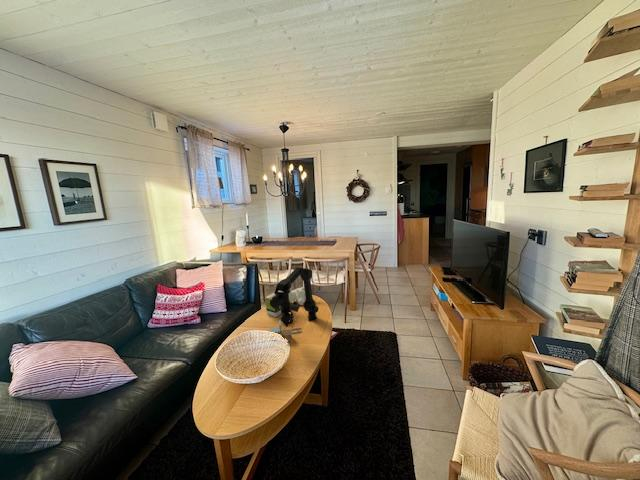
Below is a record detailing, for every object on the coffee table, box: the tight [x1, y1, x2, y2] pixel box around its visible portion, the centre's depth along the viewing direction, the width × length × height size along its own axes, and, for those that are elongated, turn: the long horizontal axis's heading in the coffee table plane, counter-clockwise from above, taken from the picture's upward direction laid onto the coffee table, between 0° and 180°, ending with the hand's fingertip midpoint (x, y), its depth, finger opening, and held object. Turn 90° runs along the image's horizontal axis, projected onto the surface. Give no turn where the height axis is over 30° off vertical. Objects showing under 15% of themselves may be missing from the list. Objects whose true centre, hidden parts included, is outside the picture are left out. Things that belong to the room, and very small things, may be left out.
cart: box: [268, 319, 282, 334], centre depth 171 cm, size 6×8×7 cm
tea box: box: [264, 291, 283, 318], centre depth 201 cm, size 15×10×15 cm, turn 144°
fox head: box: [289, 286, 306, 306], centre depth 215 cm, size 13×17×20 cm
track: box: [281, 327, 303, 336], centre depth 173 cm, size 8×21×1 cm, turn 100°
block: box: [283, 330, 293, 343], centre depth 164 cm, size 4×4×5 cm
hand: (286, 324), depth 162 cm, fingers open, 6 cm apart
